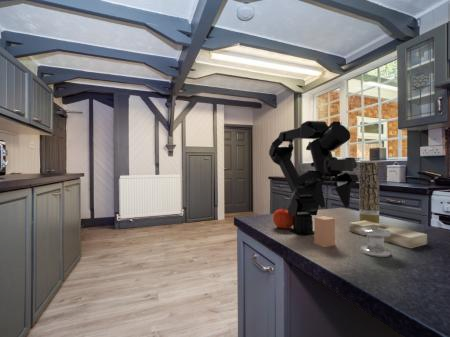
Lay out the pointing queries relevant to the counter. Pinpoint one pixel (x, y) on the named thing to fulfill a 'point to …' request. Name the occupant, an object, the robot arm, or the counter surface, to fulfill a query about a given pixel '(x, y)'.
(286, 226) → the apple
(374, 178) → the paper tube
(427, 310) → the counter surface
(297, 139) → the robot arm
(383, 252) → the bobbin
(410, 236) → the notched board
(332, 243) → the tab block
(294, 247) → the counter surface
